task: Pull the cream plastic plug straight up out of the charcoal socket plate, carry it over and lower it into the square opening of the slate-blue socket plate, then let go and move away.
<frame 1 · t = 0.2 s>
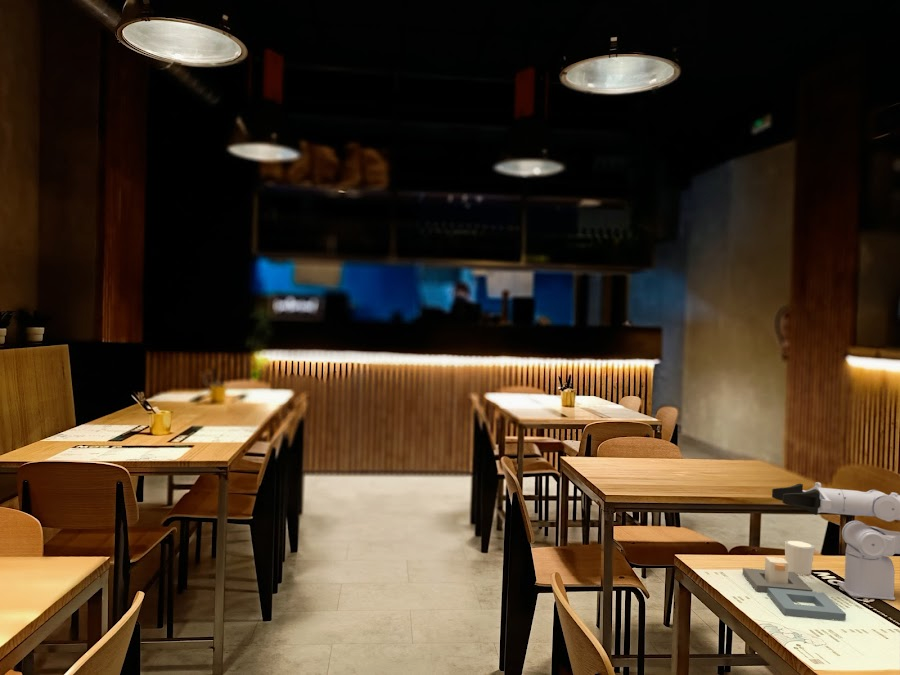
hand: (777, 495, 162), 21 cm above the table, tool horizontal, fingers open, 7 cm apart
plug: (775, 585, 162), resting in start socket
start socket: (775, 584, 162), on the table
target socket: (804, 606, 149), on the table
cream tapered cup: (798, 572, 172), on the table
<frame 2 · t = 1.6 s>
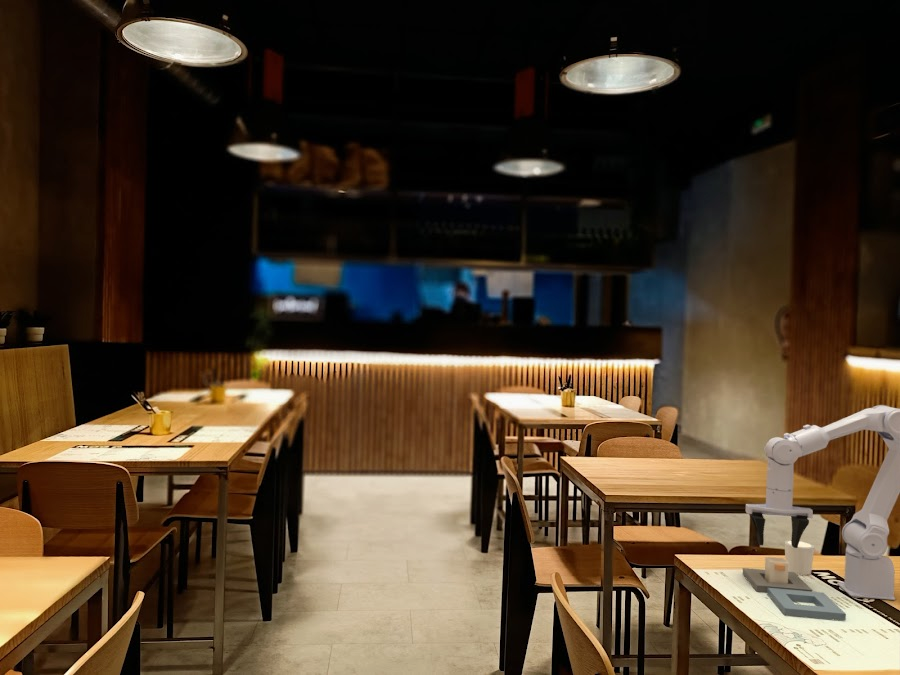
hand: (777, 545, 162), 9 cm above the table, tool pointing down, fingers open, 7 cm apart
nothing on the table moved.
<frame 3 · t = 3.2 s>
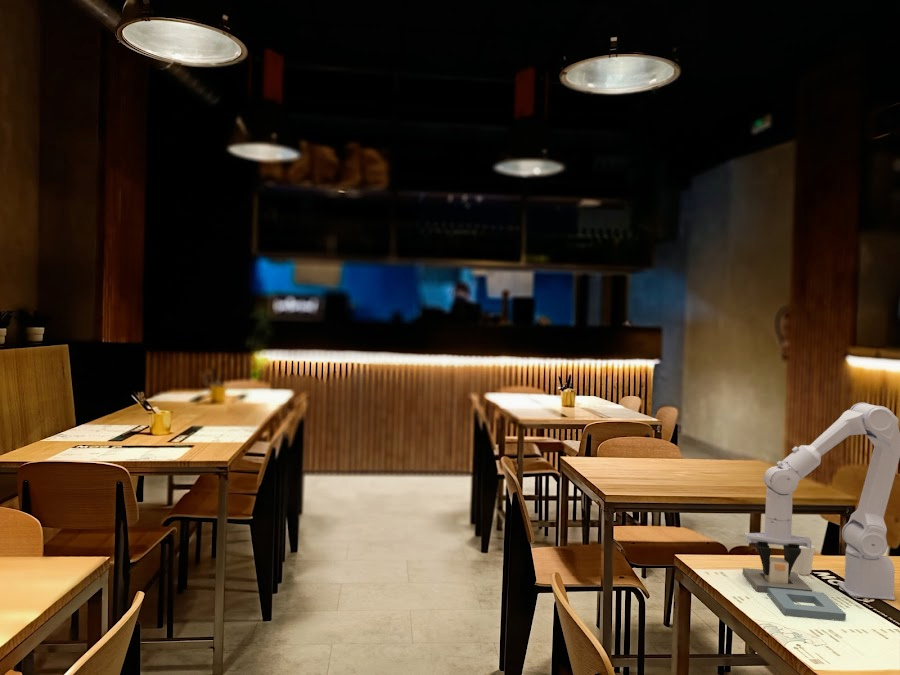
hand: (776, 574, 162), 2 cm above the table, tool pointing down, fingers closed on plug, 4 cm apart
plug: (775, 584, 162), resting in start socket, touching gripper
everything else where it was.
when the fingers open (3 cm above the table, at t = 7.4 s): plug stays where it is, resting in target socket.
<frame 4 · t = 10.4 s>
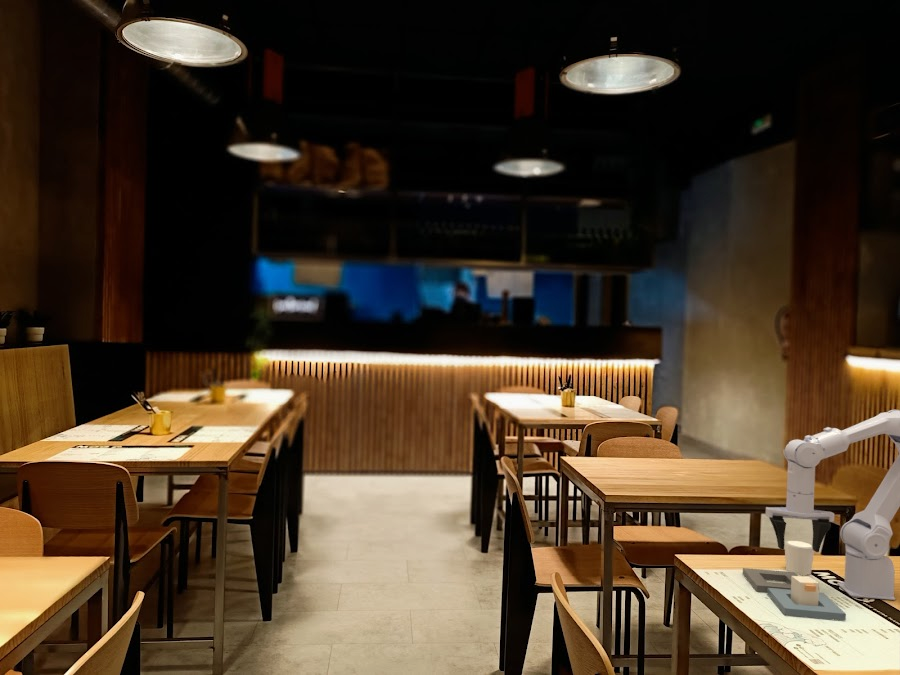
hand: (798, 549, 159), 9 cm above the table, tool pointing down, fingers open, 7 cm apart
plug: (804, 606, 149), resting in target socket
everything else where it was.
at the end: plug 0.3 cm off-centre on the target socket, point 0.0 cm above the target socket's base; plug tilted 0°; the gripper is holding nothing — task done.
